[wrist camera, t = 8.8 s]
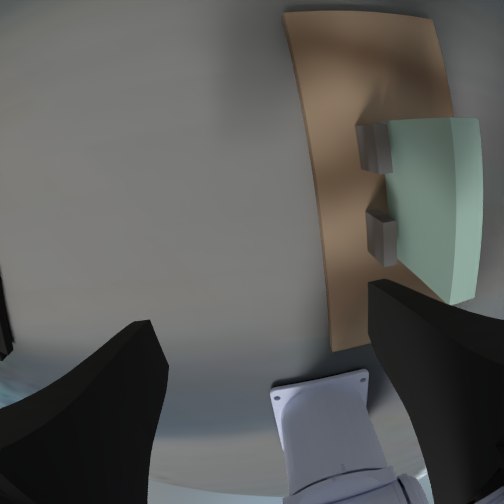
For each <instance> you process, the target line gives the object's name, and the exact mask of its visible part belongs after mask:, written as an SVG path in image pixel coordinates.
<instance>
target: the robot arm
mask: <svg viewBox="0 0 504 504" xmlns="http://www.w3.org/2000/svg"><path fill="white" fill-rule="evenodd" d="M368 335H369V338H370V340H371V343H372V346H373V348H374V351H375V353H376V355H377V358H378V359H379V361H380V363H381V365H382V367H383V368H384V370H385V372H386V374H387V375H388V377H389V379H390V381H391V382H392V384H393V386H394V388H395V390H396V391H397V393H398V395H399V397H400V399H401V400H402V402H403V404H404V406H405V408H406V410H407V412H408V414H409V417H410V420H411V422H412V425H413V428H414V430H415V433H416V436H417V438H418V442H419V445H420V448H421V451H422V454H423V457H424V460H425V464H426V468H427V472H428V476H429V480H430V484H431V488H432V493H433V498H434V504H504V320H500V319H496V318H491V317H487V316H483V315H480V314H476V313H472V312H469V311H466V310H463V309H460V308H457V307H454V306H452V305H449V304H446V303H443V302H441V301H438V300H436V299H434V298H431V297H429V296H426V295H424V294H422V293H420V292H417V291H415V290H413V289H410V288H408V287H406V286H404V285H401V284H399V283H396V282H394V281H391V280H388V279H385V278H384V279H380V280H375V281H371V282H368ZM168 371H169V365H168V363H167V360H166V358H165V356H164V353H163V351H162V348H161V346H160V344H159V341H158V339H157V336H156V334H155V331H154V329H153V326H152V324H151V321H150V320H143V321H134V322H133V323H131V324H129V325H128V326H126V327H125V328H124V329H122V330H121V331H120V332H119V333H117V334H116V335H115V336H114V337H113V338H111V339H110V340H109V341H108V342H106V343H105V344H104V345H103V346H102V347H100V348H99V349H98V350H97V351H96V352H94V353H93V354H92V355H91V356H89V357H88V358H87V359H85V360H84V361H83V362H82V363H80V364H79V365H78V366H76V367H75V368H74V369H72V370H71V371H70V372H68V373H67V374H65V375H64V376H63V377H61V378H60V379H58V380H56V381H55V382H53V383H52V384H50V385H49V386H47V387H45V388H43V389H42V390H40V391H38V392H36V393H34V394H32V395H30V396H28V397H26V398H24V399H22V400H20V401H18V402H16V403H13V404H11V405H9V406H6V407H3V408H1V409H0V504H147V496H148V493H147V492H148V476H149V466H150V457H151V450H152V445H153V440H154V437H155V433H156V429H157V425H158V421H159V417H160V413H161V410H162V406H163V402H164V398H165V394H166V389H167V381H168ZM362 378H363V379H362ZM368 380H369V372H368V370H367V369H360V370H356V371H352V372H348V373H344V374H340V375H335V376H331V377H326V378H322V379H317V380H312V381H307V382H302V383H296V384H291V385H285V386H279V387H274V388H272V389H271V390H270V397H271V401H272V405H273V410H274V414H275V419H276V423H277V427H278V432H279V436H280V440H281V444H282V449H283V450H284V453H285V462H286V470H287V479H288V488H289V497H285V498H283V504H429V503H428V501H427V498H426V495H425V493H424V491H423V489H422V487H421V485H420V483H419V482H418V480H417V479H416V478H414V477H412V476H409V475H407V474H402V475H399V476H397V477H396V474H395V472H394V469H393V466H389V467H388V464H387V462H386V459H385V456H384V454H383V451H382V448H381V445H380V443H379V440H378V438H377V435H376V432H375V430H374V427H373V424H372V422H371V419H370V417H369V414H368V412H367V409H366V403H367V392H368ZM276 396H279V397H276Z"/></svg>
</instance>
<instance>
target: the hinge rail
mask: <svg viewBox="0 0 504 504" xmlns="http://www.w3.org/2000/svg"><path fill="white" fill-rule="evenodd" d="M282 20H283V24H284V28H285V32H286V37H287V41H288V45H289V50H290V54H291V58H292V63H293V68H294V72H295V77H296V82H297V87H298V92H299V97H300V102H301V107H302V113H303V118H304V124H305V129H306V135H307V141H308V147H309V153H310V160H311V166H312V173H313V179H314V186H315V194H316V201H317V209H318V216H319V225H320V233H321V242H322V251H323V261H324V271H325V282H326V293H327V306H328V320H329V335H330V347H331V349H332V352H336V351H340V350H345V349H349V348H353V347H357V346H361V345H365V344H369V343H371V340H370V338H369V335H368V282H371V281H375V280H380V279H384V278H385V279H388V280H391V281H394V282H396V283H399V284H401V285H404V286H406V287H408V288H410V289H413V290H415V291H417V292H420V293H422V294H424V295H426V296H429V297H431V298H434V299H436V300H438V301H441V302H443V303H445V302H444V301H443V300H442V299H441V298H440V297H439V296H438V295H437V294H436V293H435V292H434V291H433V290H432V289H430V288H429V287H428V286H427V285H426V284H425V283H424V282H423V281H422V280H421V279H420V278H418V277H417V276H416V275H415V274H414V273H413V272H412V271H411V270H410V269H408V268H407V267H406V266H405V265H404V264H403V263H402V262H401V261H399V260H398V259H397V226H396V220H394V219H393V218H391V217H389V216H388V204H387V190H386V179H385V174H387V173H393V166H392V157H391V148H390V140H389V132H388V125H387V123H383V124H379V122H380V121H392V120H405V119H422V118H454V116H453V109H452V103H451V97H450V91H449V86H448V80H447V75H446V71H445V66H444V62H443V57H442V53H441V49H440V45H439V42H438V38H437V34H436V31H435V28H434V24H433V21H432V19H427V18H421V17H415V16H408V15H400V14H391V13H380V12H365V11H301V12H286V13H283V16H282Z"/></svg>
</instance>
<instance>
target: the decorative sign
mask: <svg viewBox="0 0 504 504" xmlns="http://www.w3.org/2000/svg"><path fill="white" fill-rule="evenodd" d="M12 351H13V345H12V341H11V337H10V332H9V327H8V322H7V317H6V312H5V306H4V299H3V293H2V285H1V277H0V361H3V360H4V359H5V358H6V356H7V355H9V354H10V353H11V352H12Z"/></svg>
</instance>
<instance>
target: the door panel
mask: <svg viewBox="0 0 504 504" xmlns="http://www.w3.org/2000/svg"><path fill="white" fill-rule="evenodd" d="M383 123H387V125H388V132H389V140H390V148H391V157H392V166H393V173H387V174H385V179H386V190H387V204H388V216H389V217H391V218H393V219H394V220H396V226H397V259H398V260H399V261H401V262H402V263H403V264H404V265H405V266H406V267H407V268H408V269H410V270H411V271H412V272H413V273H414V274H415V275H416V276H417V277H418V278H420V279H421V280H422V281H423V282H424V283H425V284H426V285H427V286H428V287H429V288H430V289H432V290H433V291H434V292H435V293H436V294H437V295H438V296H439V297H440V298H441V299H442V300H443V301H444V302H445V303H446V304H449V305H454V304H457V303H460V302H463V301H466V300H469V299H472V298H474V296H475V290H476V283H477V276H478V268H479V259H480V249H481V237H482V219H483V168H482V150H481V138H480V128H479V119H478V118H422V119H405V120H392V121H380V122H379V124H383Z"/></svg>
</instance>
